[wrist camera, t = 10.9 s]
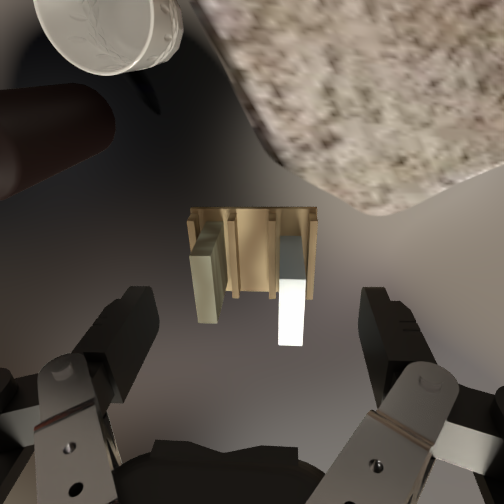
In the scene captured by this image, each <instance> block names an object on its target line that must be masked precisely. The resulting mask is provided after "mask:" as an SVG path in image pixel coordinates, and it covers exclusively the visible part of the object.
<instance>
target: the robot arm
mask: <svg viewBox="0 0 504 504" xmlns="http://www.w3.org/2000/svg"><path fill="white" fill-rule="evenodd" d="M158 330H159V315H158V311H157V307H156V302H155V298H154V294H153V291H152V288H151V287H150V286H130V287H129V288H128V289H127V291H126V292H125V293H124V295H123V296H122V298H121V299H116V300H114V301H113V302H112V303H110V304H109V305H108V306H106V307H105V308H104V310H103V311H102V312H101V314H100V315H99V317H98V318H97V319H96V320H95V322H94V323H93V326H91V327H90V329H89V330H88V331H87V332H86V334H85V335H84V336H83V338H82V339H81V340H80V342H79V343H78V344H77V346H76V347H75V348H74V350H73V351H72V352H71V353H67V354H64V355H60V356H58V357H56V358H54V359H52V360H51V361H49V362H48V363H47V364H46V365H45V366H44V367H43V368H42V369H41V370H40V372H39V373H37V374H33V375H29V376H24V377H20V378H16V379H14V378H13V376H12V374H11V372H10V371H9V370H8V369H6V368H0V504H3V502H4V501H5V499H6V497H7V496H8V494H9V492H10V491H11V489H12V487H13V486H14V484H15V482H16V481H17V479H18V477H19V476H20V474H21V472H22V471H23V469H24V467H25V466H26V464H27V462H28V461H29V459H30V457H31V456H32V454H33V452H34V451H35V464H36V465H35V466H36V485H37V504H417V502H418V500H419V497H420V495H421V493H422V491H423V488H424V486H425V484H426V482H427V479H428V477H429V475H430V473H431V470H432V468H433V466H434V464H435V461H436V459H440V460H443V461H446V462H449V463H451V464H454V465H457V466H460V467H463V468H465V469H468V470H471V471H473V473H474V476H475V479H476V481H477V484H478V486H479V489H480V492H481V494H482V497H483V499H484V502H485V504H504V386H502V387H500V388H499V389H498V390H497V391H496V394H495V395H493V394H489V393H485V392H482V391H478V390H475V389H471V388H468V387H465V386H463V385H460V384H458V382H457V380H456V379H455V377H454V376H453V375H452V374H451V373H450V372H449V371H447V370H446V369H444V368H443V367H441V366H439V365H437V363H436V361H435V359H434V356H433V354H432V352H431V350H430V348H429V346H428V344H427V342H426V340H425V338H424V336H423V334H422V332H420V328H419V326H418V324H417V323H416V320H415V318H414V316H413V314H412V312H411V310H410V309H409V308H407V307H406V306H405V305H404V304H403V303H402V302H401V301H390V299H389V296H388V294H387V292H386V289H385V288H384V287H363V288H362V291H361V299H360V309H359V318H358V330H359V331H358V332H359V338H360V342H361V346H362V350H363V353H364V358H365V362H366V365H367V369H368V373H369V377H370V381H371V385H372V389H373V393H374V397H375V401H376V405H377V409H378V410H377V411H376V412H375V411H374V410H370V411H369V412H368V413H367V414H366V416H365V417H364V419H363V420H362V422H361V423H360V425H359V426H358V427H357V429H356V430H355V432H354V433H353V435H352V436H351V438H350V439H349V441H348V443H347V444H346V445H345V447H344V448H343V450H342V451H341V453H340V454H339V455H338V457H337V458H336V460H335V461H334V463H333V464H332V466H331V467H330V468H329V470H328V471H327V473H326V474H325V473H324V472H323V471H321V470H319V469H318V468H316V467H315V466H313V465H311V464H309V463H306V462H304V461H301V460H298V448H297V447H280V446H279V447H278V446H257V447H252V448H247V449H242V450H237V451H232V452H227V453H221V452H218V451H215V450H212V449H209V448H206V447H203V446H200V445H198V444H195V443H192V442H188V441H169V440H155V442H154V445H153V448H152V451H151V452H149V453H145V454H143V455H139V456H137V457H135V458H133V459H130V460H129V461H127V462H125V463H123V464H122V462H121V459H120V455H119V452H118V448H117V444H116V441H115V437H114V434H113V430H112V427H111V423H110V419H109V416H108V413H107V409H108V407H109V405H110V403H124V401H125V399H126V397H127V395H128V393H129V391H130V389H131V387H132V385H133V383H134V381H135V379H136V376H137V374H138V372H139V370H140V368H141V366H142V364H143V362H144V360H145V358H146V356H147V354H148V352H149V350H150V348H151V346H152V343H153V341H154V340H155V338H156V335H157V333H158Z"/></svg>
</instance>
